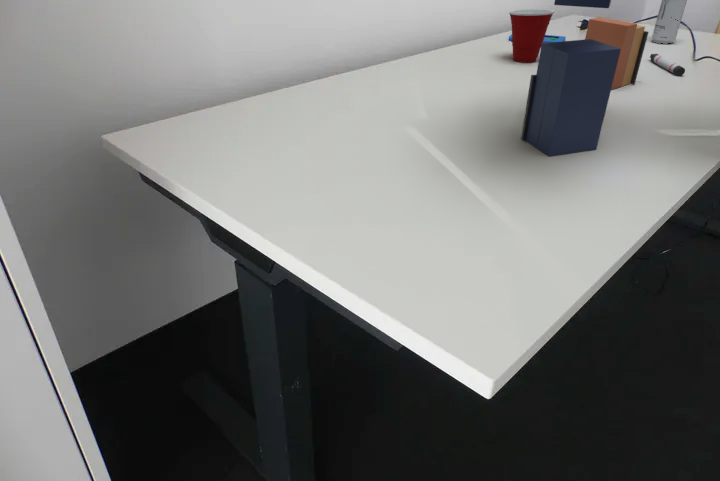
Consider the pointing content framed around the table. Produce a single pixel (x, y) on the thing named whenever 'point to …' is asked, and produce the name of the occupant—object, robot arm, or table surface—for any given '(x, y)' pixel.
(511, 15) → the plastic cup
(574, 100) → the navy books
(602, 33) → the terracotta books
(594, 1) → the navy book
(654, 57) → the marker
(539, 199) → the table surface
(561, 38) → the handheld gaming device
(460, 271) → the table surface
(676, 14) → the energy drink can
